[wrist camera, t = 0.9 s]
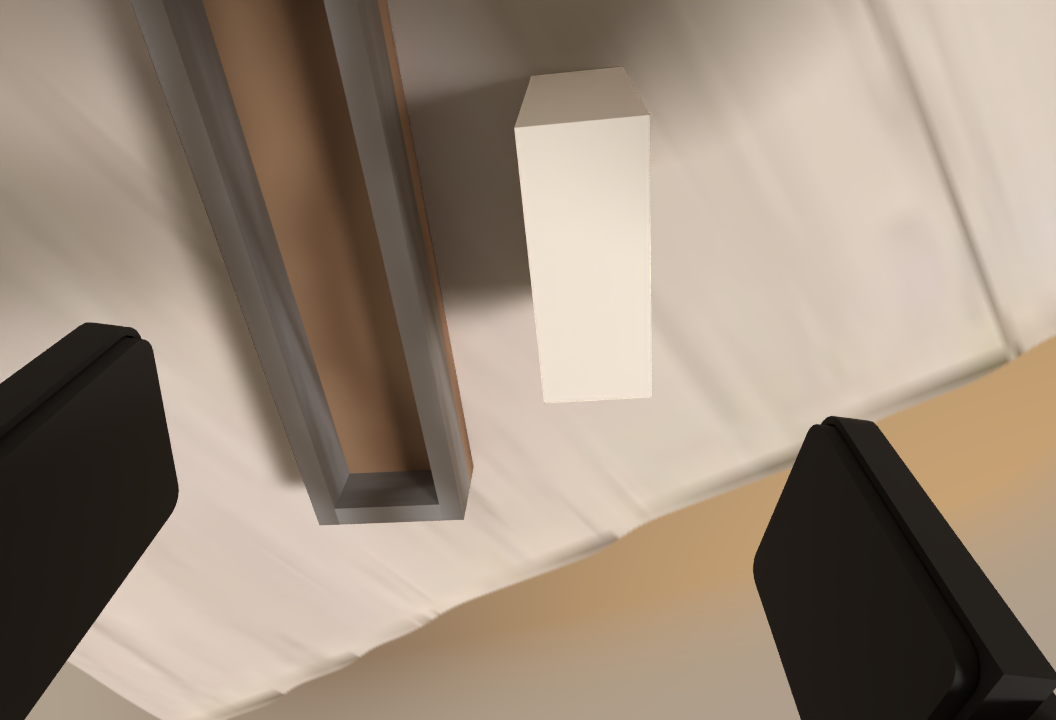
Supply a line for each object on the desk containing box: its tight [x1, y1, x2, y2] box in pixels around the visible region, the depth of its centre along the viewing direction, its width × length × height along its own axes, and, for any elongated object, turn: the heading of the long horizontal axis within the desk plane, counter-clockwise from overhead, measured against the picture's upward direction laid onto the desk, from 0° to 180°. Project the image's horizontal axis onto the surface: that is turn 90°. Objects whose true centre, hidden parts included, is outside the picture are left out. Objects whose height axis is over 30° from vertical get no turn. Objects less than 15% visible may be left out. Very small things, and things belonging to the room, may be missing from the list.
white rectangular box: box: [514, 67, 652, 403], centre depth 27 cm, size 4×10×11 cm, turn 6°
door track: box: [130, 0, 473, 525], centre depth 32 cm, size 8×28×4 cm, turn 6°
